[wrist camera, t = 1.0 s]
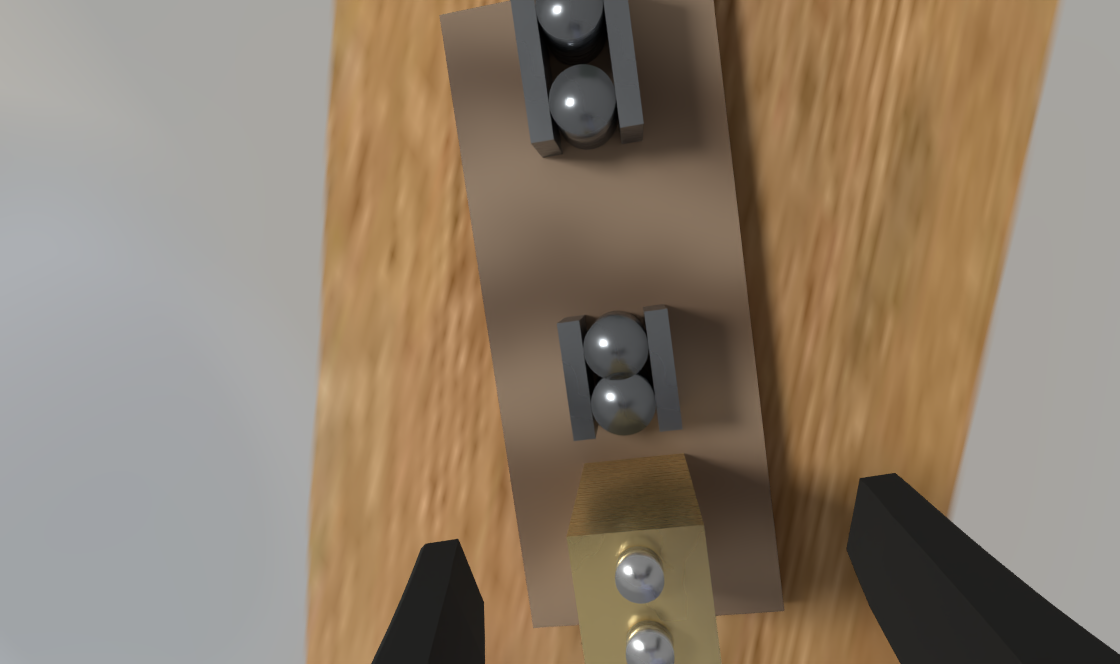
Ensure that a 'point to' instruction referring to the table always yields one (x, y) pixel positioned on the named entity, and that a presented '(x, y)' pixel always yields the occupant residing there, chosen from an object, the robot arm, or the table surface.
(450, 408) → the table surface
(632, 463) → the brushed brass block
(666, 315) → the steel ball guide
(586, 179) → the board
